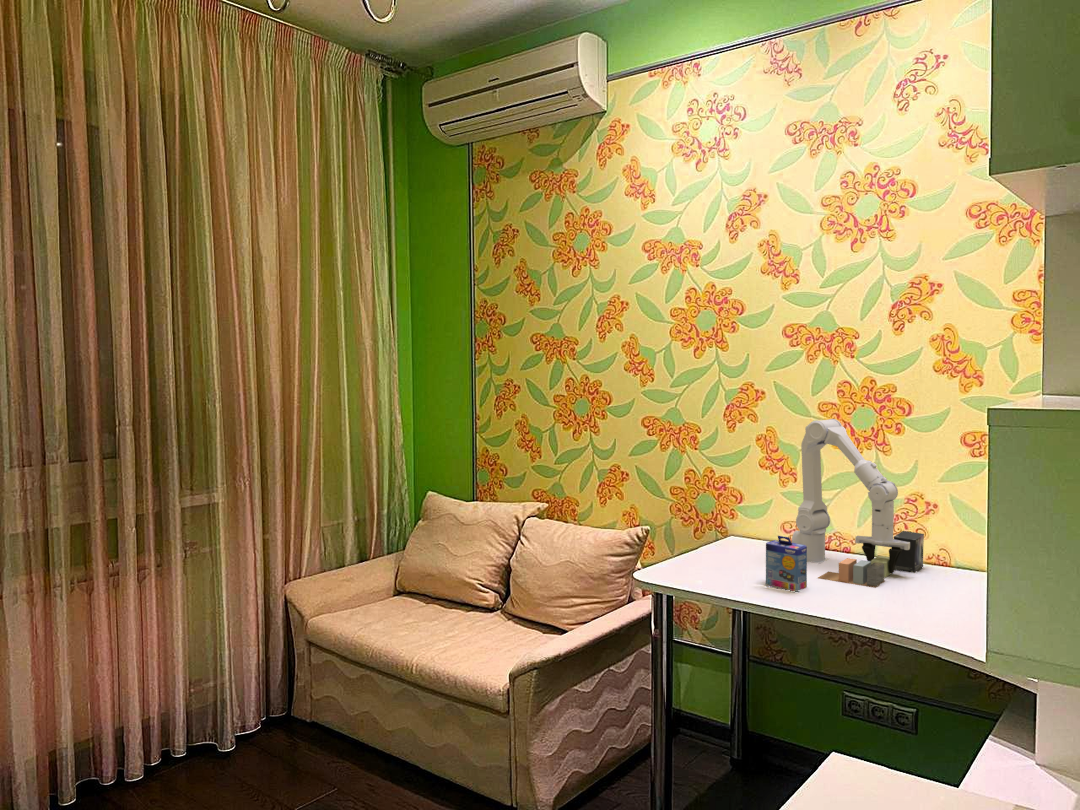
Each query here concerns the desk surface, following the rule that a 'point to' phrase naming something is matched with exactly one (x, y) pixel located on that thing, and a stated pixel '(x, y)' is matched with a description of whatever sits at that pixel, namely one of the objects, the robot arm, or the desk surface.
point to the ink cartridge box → (786, 564)
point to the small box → (910, 552)
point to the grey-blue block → (860, 572)
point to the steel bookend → (875, 574)
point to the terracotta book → (846, 569)
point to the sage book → (886, 564)
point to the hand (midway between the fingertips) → (881, 571)
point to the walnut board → (835, 577)
